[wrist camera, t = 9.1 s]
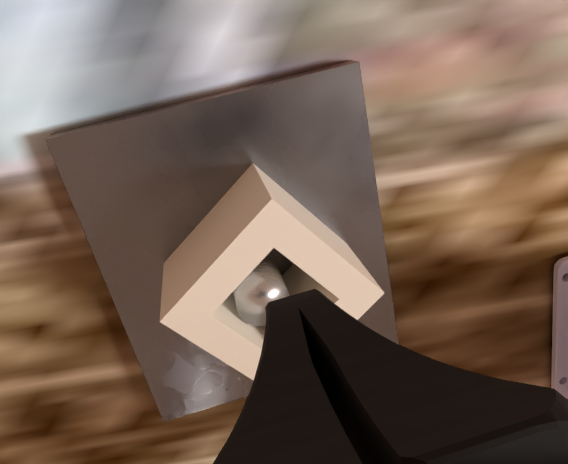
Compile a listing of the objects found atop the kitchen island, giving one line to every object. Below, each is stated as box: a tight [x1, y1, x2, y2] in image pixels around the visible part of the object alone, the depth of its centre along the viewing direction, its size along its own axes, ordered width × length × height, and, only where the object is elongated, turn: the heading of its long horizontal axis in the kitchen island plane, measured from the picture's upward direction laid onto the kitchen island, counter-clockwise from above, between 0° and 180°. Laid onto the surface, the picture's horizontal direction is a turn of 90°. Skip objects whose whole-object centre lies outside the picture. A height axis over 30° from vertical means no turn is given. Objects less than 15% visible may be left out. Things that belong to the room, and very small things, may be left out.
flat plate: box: [45, 60, 399, 422], centre depth 20 cm, size 14×12×4 cm
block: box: [160, 163, 384, 381], centre depth 19 cm, size 6×6×4 cm
